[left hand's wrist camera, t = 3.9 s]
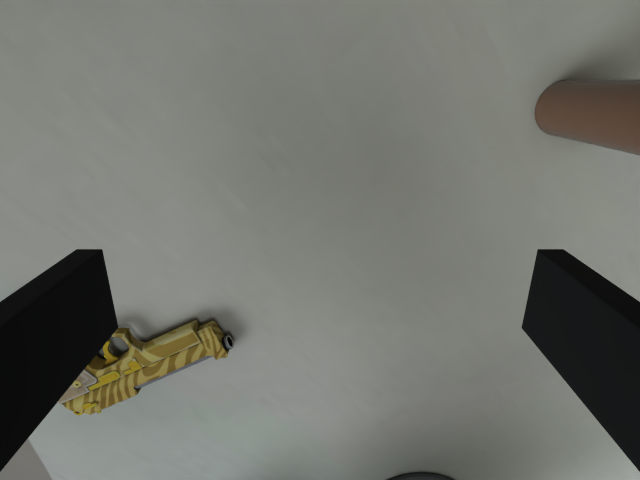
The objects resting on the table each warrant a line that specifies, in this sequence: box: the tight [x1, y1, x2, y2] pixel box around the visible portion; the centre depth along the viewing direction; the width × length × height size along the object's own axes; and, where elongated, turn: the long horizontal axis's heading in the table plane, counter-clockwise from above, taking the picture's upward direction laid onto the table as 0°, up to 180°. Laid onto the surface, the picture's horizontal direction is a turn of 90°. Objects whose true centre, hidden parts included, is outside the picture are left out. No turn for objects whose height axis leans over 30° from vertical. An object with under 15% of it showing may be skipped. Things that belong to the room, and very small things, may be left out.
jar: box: [535, 79, 640, 155], centre depth 30 cm, size 5×5×15 cm
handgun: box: [57, 320, 234, 415], centre depth 45 cm, size 2×23×15 cm
